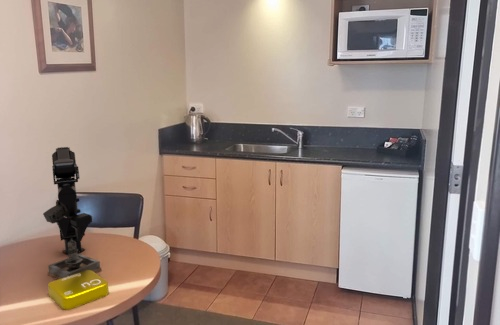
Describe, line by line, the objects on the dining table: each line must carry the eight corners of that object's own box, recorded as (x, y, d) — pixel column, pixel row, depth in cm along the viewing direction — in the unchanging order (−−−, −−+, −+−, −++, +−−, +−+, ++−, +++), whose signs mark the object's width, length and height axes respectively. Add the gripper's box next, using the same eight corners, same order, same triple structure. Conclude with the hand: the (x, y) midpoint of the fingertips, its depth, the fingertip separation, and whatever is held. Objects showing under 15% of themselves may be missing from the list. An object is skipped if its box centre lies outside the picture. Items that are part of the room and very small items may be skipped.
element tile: (91, 280, 155) (90, 267, 154) (111, 295, 145) (110, 281, 144) (47, 295, 145) (45, 281, 144) (65, 312, 135) (63, 298, 134)
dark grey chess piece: (78, 264, 164) (74, 234, 161) (86, 269, 160) (83, 237, 158) (62, 270, 159) (59, 238, 157) (71, 274, 156) (67, 242, 153)
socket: (48, 275, 158) (47, 265, 158) (80, 262, 169) (79, 253, 168) (69, 284, 151) (68, 274, 150) (101, 270, 161) (100, 261, 160)
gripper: (30, 197, 154) (36, 240, 157) (61, 207, 143) (66, 252, 146) (60, 190, 162) (64, 230, 166) (91, 198, 152) (95, 241, 155)
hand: (71, 238), depth 158 cm, fingers open, 9 cm apart
